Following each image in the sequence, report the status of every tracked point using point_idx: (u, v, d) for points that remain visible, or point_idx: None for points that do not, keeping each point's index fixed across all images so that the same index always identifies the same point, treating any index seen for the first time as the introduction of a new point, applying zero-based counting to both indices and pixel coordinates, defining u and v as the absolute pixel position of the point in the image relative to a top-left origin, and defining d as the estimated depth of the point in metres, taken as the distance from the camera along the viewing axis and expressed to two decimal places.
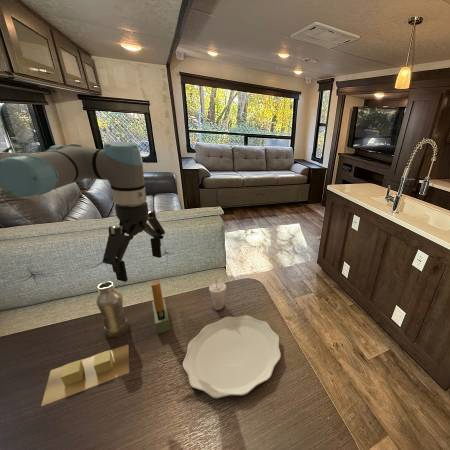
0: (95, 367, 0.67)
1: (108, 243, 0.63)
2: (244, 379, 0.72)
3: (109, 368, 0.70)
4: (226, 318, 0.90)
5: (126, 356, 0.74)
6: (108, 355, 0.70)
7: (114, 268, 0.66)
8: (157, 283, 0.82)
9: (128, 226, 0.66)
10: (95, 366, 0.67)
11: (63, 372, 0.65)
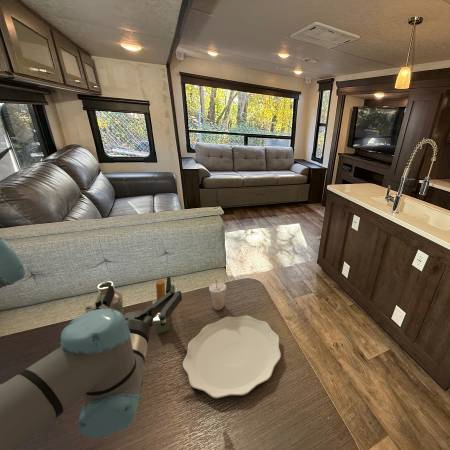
0: None
1: None
2: (244, 379, 0.72)
3: None
4: (226, 318, 0.90)
5: None
6: None
7: None
8: (162, 282, 0.83)
9: None
10: None
11: None
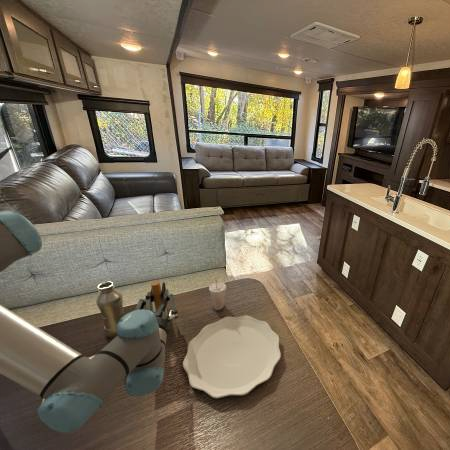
0: None
1: None
2: (244, 379, 0.72)
3: None
4: (226, 318, 0.90)
5: None
6: None
7: None
8: (157, 283, 0.82)
9: None
10: None
11: None
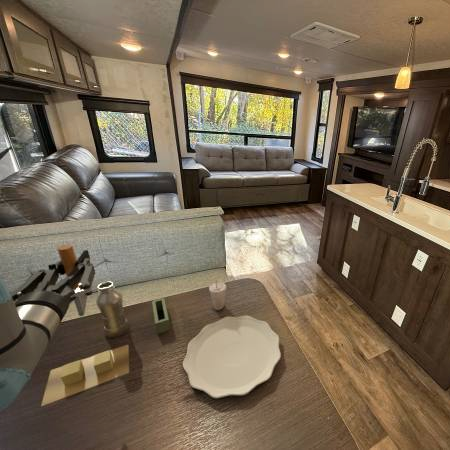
0: (95, 367, 0.67)
1: None
2: (244, 379, 0.72)
3: (109, 368, 0.70)
4: (226, 318, 0.90)
5: (126, 356, 0.74)
6: (108, 355, 0.70)
7: None
8: (67, 247, 0.57)
9: None
10: (95, 366, 0.67)
11: (63, 372, 0.65)
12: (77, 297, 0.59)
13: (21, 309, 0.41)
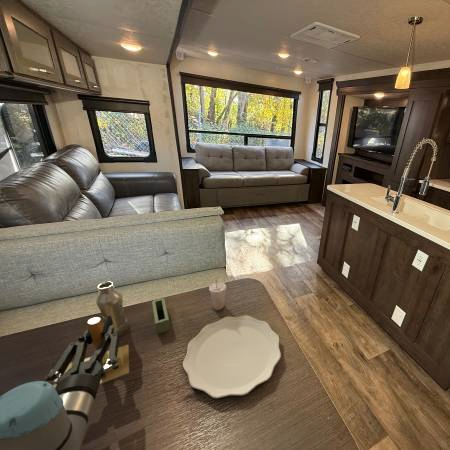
0: None
1: None
2: (244, 379, 0.72)
3: (120, 365, 0.71)
4: (226, 318, 0.90)
5: (126, 356, 0.74)
6: (118, 352, 0.71)
7: None
8: (96, 321, 0.64)
9: None
10: None
11: None
12: (101, 364, 0.65)
13: (64, 398, 0.48)
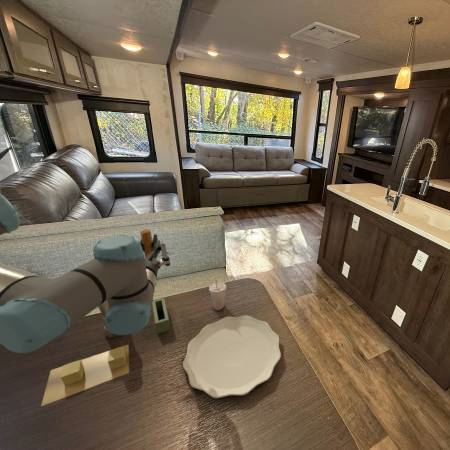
0: (109, 363, 0.69)
1: None
2: (244, 379, 0.72)
3: (123, 364, 0.71)
4: (226, 318, 0.90)
5: (126, 356, 0.74)
6: (122, 351, 0.72)
7: None
8: (147, 231, 0.74)
9: None
10: (109, 362, 0.69)
11: (63, 372, 0.65)
12: None
13: None
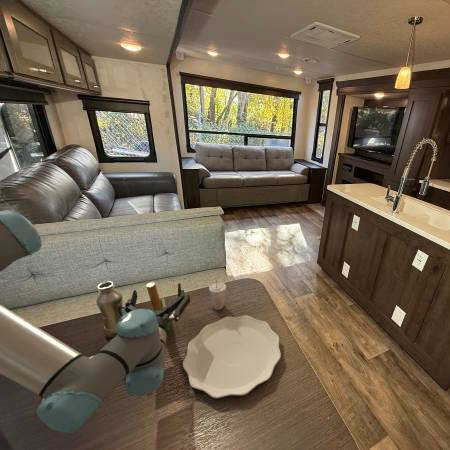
0: None
1: None
2: (244, 379, 0.72)
3: None
4: (226, 318, 0.90)
5: None
6: None
7: None
8: (152, 284, 0.81)
9: None
10: None
11: None
12: None
13: None
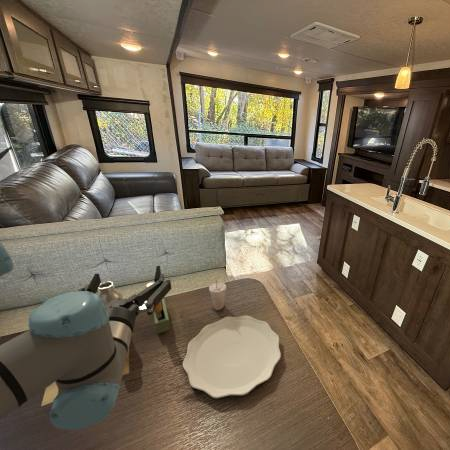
0: None
1: None
2: (244, 379, 0.72)
3: None
4: (226, 318, 0.90)
5: None
6: None
7: None
8: None
9: None
10: None
11: None
12: (160, 318, 0.83)
13: None
